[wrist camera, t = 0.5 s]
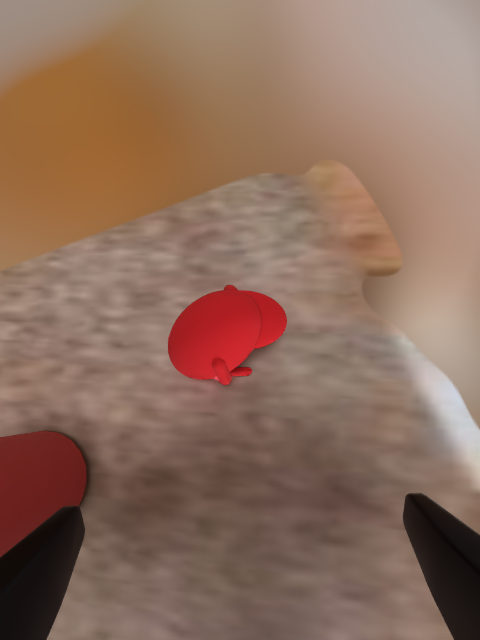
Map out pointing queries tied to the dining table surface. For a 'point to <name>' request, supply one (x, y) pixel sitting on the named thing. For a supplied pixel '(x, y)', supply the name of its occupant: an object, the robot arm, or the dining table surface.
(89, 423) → the dining table surface
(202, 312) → the cap
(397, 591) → the dining table surface
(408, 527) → the robot arm
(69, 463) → the beer can
